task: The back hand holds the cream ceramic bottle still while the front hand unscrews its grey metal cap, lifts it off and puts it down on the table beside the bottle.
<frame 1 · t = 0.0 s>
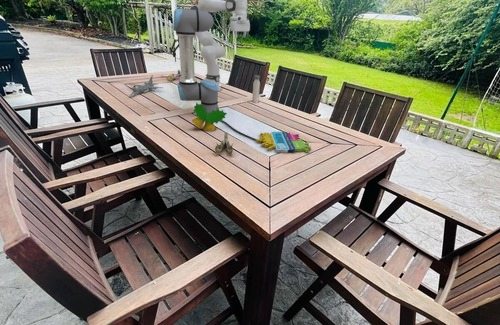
front hand: (184, 61, 211), 28 cm above the table, tool pointing down, fingers open, 13 cm apart
back hand: (240, 37, 210), 48 cm above the table, tool pointing down, fingers open, 8 cm apart
ornament: (209, 128, 165), on the table
toy: (175, 78, 280), on the table
cap: (257, 76, 213), point 21 cm above the table, screwed on, not yet turned
bottle: (255, 101, 224), on the table
airplane: (144, 91, 229), on the table
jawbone: (224, 151, 138), on the table
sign: (281, 143, 152), on the table
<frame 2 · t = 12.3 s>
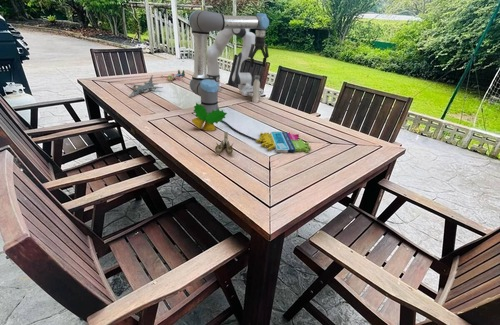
front hand: (257, 66, 210), 28 cm above the table, tool pointing down, fingers open, 10 cm apart
back hand: (256, 94, 220), 6 cm above the table, tool horizontal, fingers closed on bottle, 5 cm apart
bottle: (255, 101, 224), on the table, touching back hand
everything else where it was.
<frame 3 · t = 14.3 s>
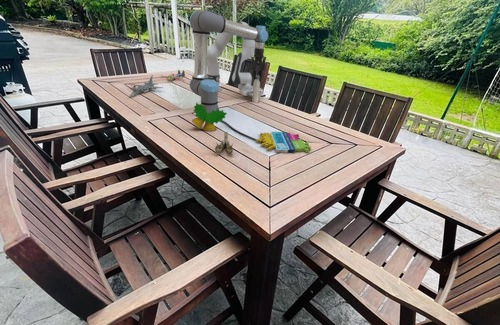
front hand: (257, 78, 214), 19 cm above the table, tool pointing down, fingers closed on cap, 4 cm apart
back hand: (256, 94, 220), 6 cm above the table, tool horizontal, fingers closed on bottle, 5 cm apart
cap: (257, 76, 213), point 21 cm above the table, screwed on, not yet turned, touching front hand
bottle: (255, 101, 224), on the table, touching back hand
everything else where it was.
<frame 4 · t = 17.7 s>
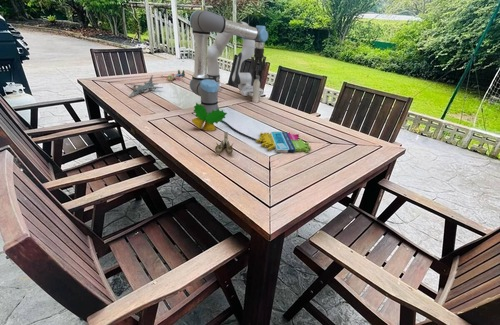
front hand: (257, 78, 214), 19 cm above the table, tool pointing down, fingers closed on cap, 4 cm apart
back hand: (256, 94, 220), 6 cm above the table, tool horizontal, fingers closed on bottle, 5 cm apart
cap: (257, 76, 213), point 21 cm above the table, turned 115° so far, risen 0.1 cm, still on its thread, touching front hand
bottle: (255, 101, 224), on the table, touching back hand
everything else where it was.
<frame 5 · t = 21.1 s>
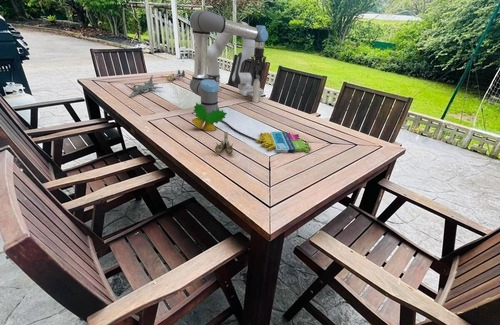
front hand: (257, 78, 214), 19 cm above the table, tool pointing down, fingers closed on cap, 4 cm apart
back hand: (256, 94, 220), 6 cm above the table, tool horizontal, fingers closed on bottle, 5 cm apart
cap: (257, 76, 213), point 21 cm above the table, turned 231° so far, risen 0.2 cm, still on its thread, touching front hand
bottle: (255, 101, 224), on the table, touching back hand
everything else where it was.
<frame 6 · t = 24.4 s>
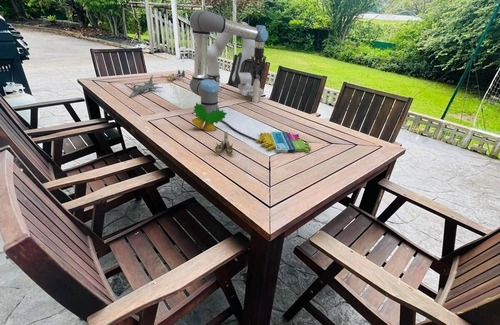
front hand: (257, 78, 214), 19 cm above the table, tool pointing down, fingers closed on cap, 4 cm apart
back hand: (256, 94, 220), 6 cm above the table, tool horizontal, fingers closed on bottle, 5 cm apart
cap: (257, 75, 213), point 21 cm above the table, turned 346° so far, risen 0.3 cm, still on its thread, touching front hand
bottle: (255, 101, 224), on the table, touching back hand
everything else where it was.
when the front hand's fingers open (2 cm above the table, at t = 30.8 s): cap drops 2 cm, point 2 cm above the table.
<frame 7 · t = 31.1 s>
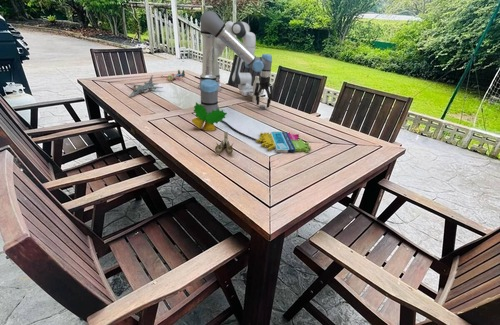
front hand: (262, 105, 206), 2 cm above the table, tool pointing down, fingers open, 9 cm apart
back hand: (256, 94, 220), 6 cm above the table, tool horizontal, fingers closed on bottle, 5 cm apart
cap: (262, 106, 206), point 2 cm above the table, off its thread
bottle: (255, 101, 224), on the table, touching back hand
everything else where it was.
when the back hand's fingers open (6 cm above the table, at t = 32.1 s): bottle stays where it is, on the table.
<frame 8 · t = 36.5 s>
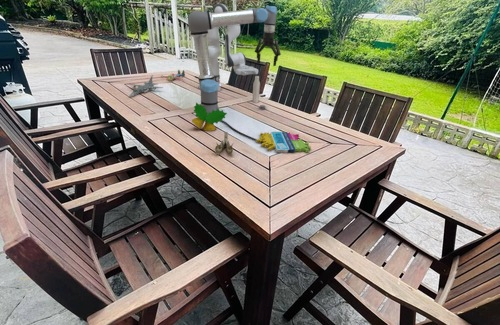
front hand: (266, 64, 191), 34 cm above the table, tool pointing down, fingers open, 13 cm apart
back hand: (251, 73, 222), 21 cm above the table, tool horizontal, fingers open, 8 cm apart
bottle: (255, 101, 224), on the table
everything else where it was.
at the end: cap came off its thread; cap point 2.0 cm above the table; the front hand is holding nothing; the back hand is holding nothing; bottle tilted 0°; bottle moved 0.0 cm from its start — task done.
